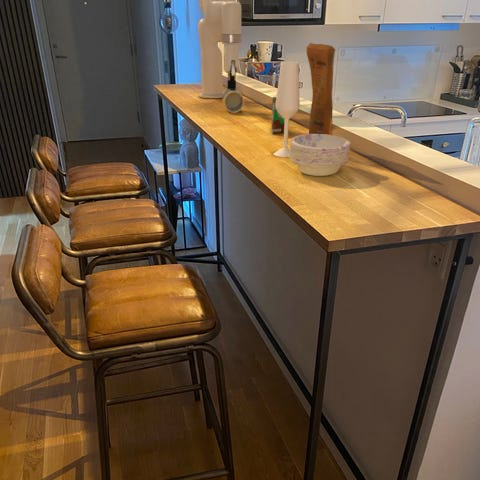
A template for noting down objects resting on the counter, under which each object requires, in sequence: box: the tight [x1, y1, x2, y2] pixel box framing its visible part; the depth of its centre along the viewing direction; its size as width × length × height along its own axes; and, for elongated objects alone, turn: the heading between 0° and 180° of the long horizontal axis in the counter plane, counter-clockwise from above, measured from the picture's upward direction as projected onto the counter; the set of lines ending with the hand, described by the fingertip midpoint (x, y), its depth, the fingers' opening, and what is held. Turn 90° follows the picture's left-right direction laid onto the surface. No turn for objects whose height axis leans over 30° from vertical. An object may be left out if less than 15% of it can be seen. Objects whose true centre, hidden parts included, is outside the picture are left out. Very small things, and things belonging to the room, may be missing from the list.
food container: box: [271, 96, 285, 135], centre depth 169 cm, size 12×6×10 cm, turn 179°
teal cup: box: [221, 87, 245, 114], centre depth 200 cm, size 8×8×6 cm
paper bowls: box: [289, 133, 351, 177], centre depth 129 cm, size 15×15×8 cm
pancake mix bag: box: [306, 42, 336, 135], centre depth 144 cm, size 7×19×28 cm, turn 7°
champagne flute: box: [273, 60, 301, 158], centre depth 140 cm, size 7×7×24 cm
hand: (231, 91), depth 202 cm, fingers closed
